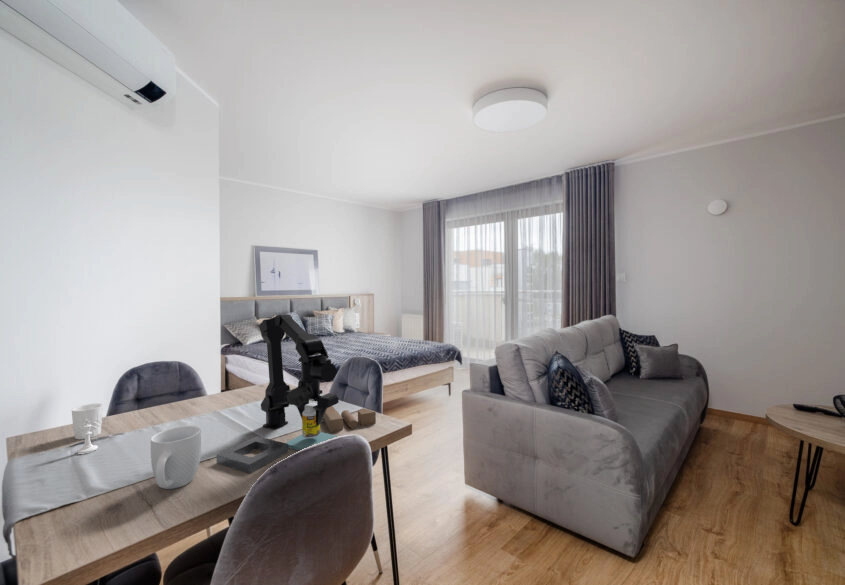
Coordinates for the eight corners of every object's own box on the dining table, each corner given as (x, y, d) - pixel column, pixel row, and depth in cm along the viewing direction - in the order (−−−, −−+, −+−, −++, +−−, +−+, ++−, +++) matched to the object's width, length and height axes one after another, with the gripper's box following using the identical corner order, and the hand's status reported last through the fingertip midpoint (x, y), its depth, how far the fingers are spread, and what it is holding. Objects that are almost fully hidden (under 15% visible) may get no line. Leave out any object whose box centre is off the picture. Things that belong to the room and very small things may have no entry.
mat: (284, 446, 115) (284, 443, 115) (310, 432, 126) (310, 429, 126) (312, 454, 110) (312, 450, 110) (337, 438, 120) (337, 435, 120)
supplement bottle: (305, 440, 114) (304, 409, 113) (300, 434, 118) (300, 404, 118) (322, 436, 117) (322, 405, 117) (317, 430, 121) (316, 401, 121)
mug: (185, 500, 86) (184, 447, 86) (133, 506, 84) (132, 452, 84) (208, 469, 101) (207, 423, 101) (163, 474, 99) (162, 427, 98)
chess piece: (101, 449, 114) (100, 418, 114) (81, 455, 110) (80, 423, 110) (93, 446, 116) (92, 415, 116) (73, 452, 112) (72, 421, 112)
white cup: (67, 438, 123) (66, 409, 122) (95, 429, 130) (94, 402, 130) (80, 441, 120) (79, 412, 120) (108, 432, 127) (107, 405, 127)
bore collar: (216, 462, 105) (216, 454, 105) (257, 443, 117) (256, 436, 117) (249, 473, 99) (249, 464, 99) (288, 451, 111) (288, 443, 111)
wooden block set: (330, 418, 125) (320, 403, 141) (330, 434, 125) (321, 417, 142) (376, 410, 133) (362, 397, 149) (376, 425, 133) (362, 410, 149)
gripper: (270, 379, 114) (271, 427, 114) (315, 386, 106) (316, 438, 106) (296, 371, 124) (296, 415, 124) (339, 377, 116) (339, 424, 116)
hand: (311, 423), depth 118 cm, fingers closed on supplement bottle, 5 cm apart
